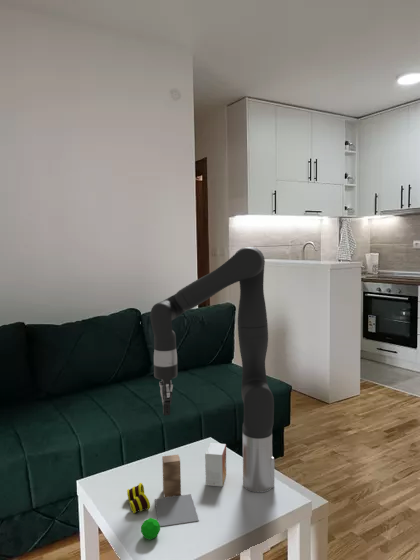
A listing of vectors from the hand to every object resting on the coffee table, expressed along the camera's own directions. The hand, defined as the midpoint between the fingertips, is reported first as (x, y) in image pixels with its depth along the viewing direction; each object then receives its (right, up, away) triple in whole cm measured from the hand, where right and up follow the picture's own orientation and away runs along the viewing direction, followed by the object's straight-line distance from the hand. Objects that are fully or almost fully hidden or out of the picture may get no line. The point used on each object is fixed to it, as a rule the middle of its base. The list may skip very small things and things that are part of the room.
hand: (166, 414), depth 143 cm
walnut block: (+2, -22, -8) cm, 23 cm away
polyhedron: (-1, -24, -28) cm, 37 cm away
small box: (+16, -21, -1) cm, 27 cm away
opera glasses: (-7, -23, -14) cm, 28 cm away
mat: (+4, -23, -17) cm, 28 cm away
